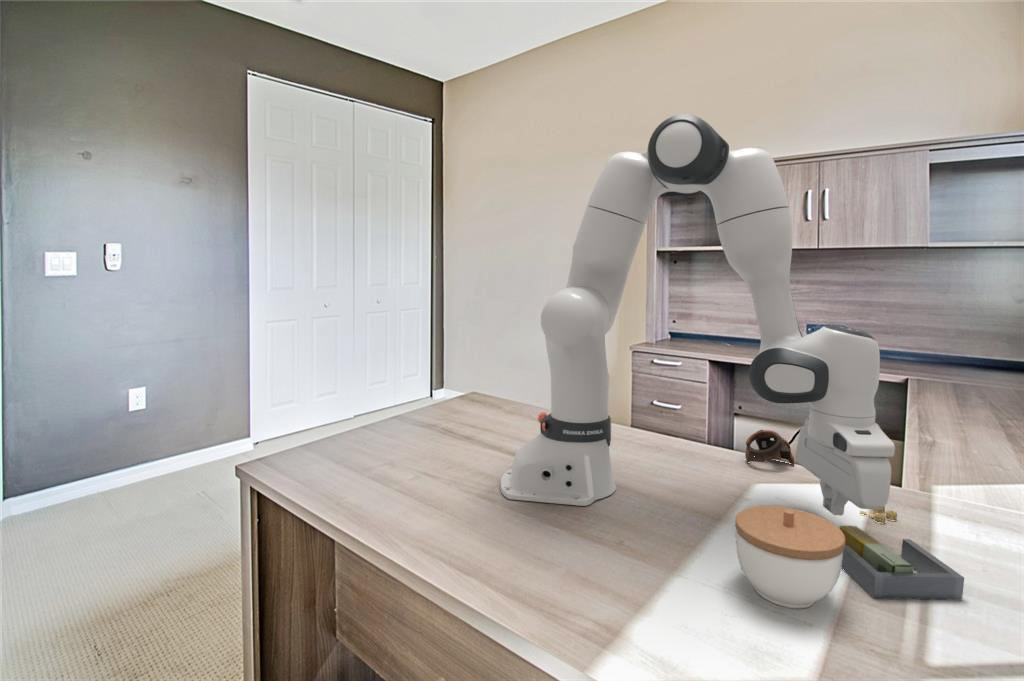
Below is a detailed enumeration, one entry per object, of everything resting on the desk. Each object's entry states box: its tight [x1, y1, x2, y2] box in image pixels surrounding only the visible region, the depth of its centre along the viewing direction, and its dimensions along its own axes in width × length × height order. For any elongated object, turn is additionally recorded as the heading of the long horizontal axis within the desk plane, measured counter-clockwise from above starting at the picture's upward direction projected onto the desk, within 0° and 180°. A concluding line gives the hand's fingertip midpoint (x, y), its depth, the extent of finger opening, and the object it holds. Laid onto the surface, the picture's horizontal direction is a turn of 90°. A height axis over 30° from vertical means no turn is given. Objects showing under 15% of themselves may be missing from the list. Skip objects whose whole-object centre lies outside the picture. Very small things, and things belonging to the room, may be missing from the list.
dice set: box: [859, 505, 898, 523], centre depth 93 cm, size 5×5×2 cm
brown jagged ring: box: [744, 429, 795, 466], centre depth 119 cm, size 12×10×8 cm
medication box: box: [839, 525, 915, 573], centre depth 76 cm, size 12×3×4 cm, turn 1°
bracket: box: [841, 538, 965, 600], centre depth 74 cm, size 11×10×3 cm
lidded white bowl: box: [734, 505, 845, 610], centre depth 70 cm, size 13×13×11 cm
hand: (832, 511), depth 88 cm, fingers closed
